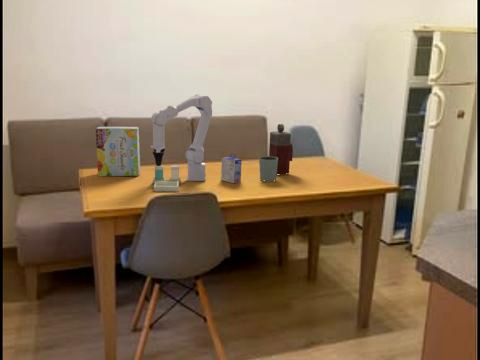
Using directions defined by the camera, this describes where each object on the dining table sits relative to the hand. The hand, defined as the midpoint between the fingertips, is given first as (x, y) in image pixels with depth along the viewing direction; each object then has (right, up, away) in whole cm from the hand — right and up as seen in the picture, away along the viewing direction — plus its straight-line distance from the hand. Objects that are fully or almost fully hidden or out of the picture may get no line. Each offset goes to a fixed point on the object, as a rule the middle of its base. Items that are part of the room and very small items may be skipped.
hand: (159, 164), depth 251 cm
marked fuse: (0, -9, +2) cm, 9 cm away
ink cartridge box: (+36, -9, +12) cm, 39 cm away
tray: (+5, -12, -7) cm, 15 cm away
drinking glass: (+55, -8, +17) cm, 58 cm away
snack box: (-24, -5, +19) cm, 31 cm away
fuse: (+8, -9, +3) cm, 12 cm away
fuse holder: (+4, -10, +3) cm, 11 cm away
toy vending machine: (+64, -4, +33) cm, 72 cm away
